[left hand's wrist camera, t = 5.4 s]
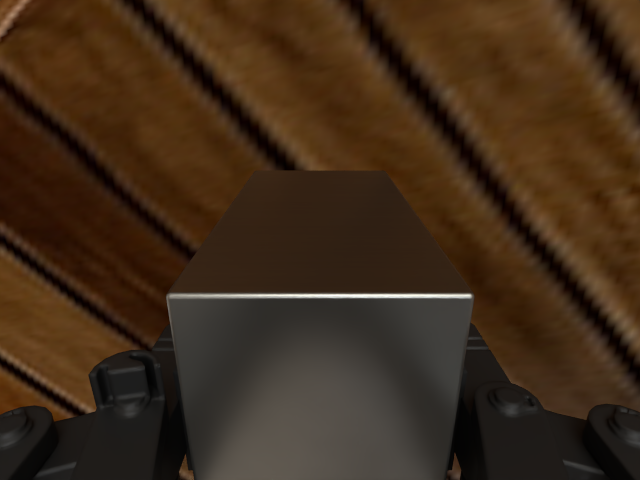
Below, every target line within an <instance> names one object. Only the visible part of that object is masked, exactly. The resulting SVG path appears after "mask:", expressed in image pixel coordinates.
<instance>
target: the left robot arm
mask: <svg viewBox="0 0 640 480" xmlns="http://www.w3.org/2000/svg"><path fill="white" fill-rule="evenodd" d="M89 379H90V383H91V387H92V391H93V395H94V399H95V403H96V407H97V409H96V411H95V412H92V413H89V414H85V415H81V416H77V417H73V418H69V419H64V420H60V421H56V422H54V420H53V416H52V413H51V412H50V411H49V410H48V409H47V408H45V407H40V406H27V407H20V408H17V409H14V410H11V411H8V412H5V413H3V414H1V415H0V480H180V476H179V470H180V467H181V465H182V462H183V459H184V456H185V453H186V458H187V464H188V470H193V467H192V461H191V454H190V448H189V441H188V435H187V428H186V422H185V415H184V409H183V402H182V396H181V390H180V383H179V377H178V370H177V364H176V357H175V351H174V344H173V338H172V331H171V325H170V324H169V325H168V326H167V327H165V329H164V331H163V332H162V334H161V335H160V337H159V339H158V341H157V342H156V343H155V345H154V347H153V348H152V351H146V350H129V351H125V352H121V353H117V354H115V355H113V356H110V357H108V358H106V359H104V360H103V361H102V362H100V363H99V364H97V365H96V366H95V367H94V368H93V370H92V371H91V372H90V374H89ZM454 453H455V454H456V456H457V459H458V462H459V465H460V467H461V476H460V480H640V413H639V412H637V411H635V410H632V409H629V408H626V407H623V406H620V405H611V404H603V405H597V406H595V407H594V408H592V409H591V410H590V411H589V414H588V417H587V420H583V419H579V418H575V417H570V416H566V415H562V414H557V413H554V412H551V411H547V410H545V409H544V408H543V407H542V405H541V403H540V402H539V400H538V399H537V398H536V397H535V396H534V395H532V394H531V393H530V392H529V391H528V390H526V389H524V388H522V387H520V386H518V385H516V384H512V383H511V382H510V381H509V379H508V378H507V376H506V374H505V373H504V371H503V370H502V368H501V367H500V365H499V363H498V362H497V360H496V359H495V357H494V355H493V354H492V352H491V351H490V350H489V349H488V346H487V344H486V343H485V341H484V340H482V336H481V335H480V333H479V332H478V330H477V329H476V327H475V326H474V325H473V324H472V323H470V328H469V335H468V341H467V348H466V354H465V361H464V367H463V374H462V380H461V386H460V393H459V399H458V406H457V412H456V419H455V425H454V431H453V438H452V444H451V451H450V457H449V464H448V470H452V466H453V460H454Z"/></svg>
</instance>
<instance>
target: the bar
mask: <svg viewBox="0 0 640 480" xmlns="http://www.w3.org/2000/svg"><path fill="white" fill-rule="evenodd" d="M166 299H167V305H168V312H169V318H170V325H171V331H172V338H173V344H174V351H175V357H176V364H177V370H178V377H179V383H180V390H181V396H182V402H183V409H184V415H185V422H186V428H187V435H188V441H189V448H190V454H191V461H192V467H193V474H194V480H446V477H447V470H448V464H449V457H450V451H451V444H452V438H453V431H454V425H455V419H456V412H457V406H458V399H459V393H460V386H461V380H462V374H463V367H464V361H465V354H466V348H467V341H468V335H469V328H470V322H471V316H472V309H473V303H474V294H473V292H472V291H471V289H470V288H469V286H468V285H467V284H466V282H465V281H464V280H463V278H462V277H461V275H460V274H459V273H458V271H457V270H456V268H455V267H454V266H453V264H452V263H451V262H450V260H449V259H448V257H447V256H446V255H445V253H444V252H443V250H442V249H441V248H440V246H439V245H438V244H437V242H436V241H435V239H434V238H433V237H432V235H431V234H430V232H429V231H428V230H427V228H426V227H425V226H424V224H423V223H422V221H421V220H420V219H419V217H418V216H417V215H416V213H415V212H414V210H413V209H412V208H411V206H410V205H409V203H408V202H407V201H406V199H405V198H404V197H403V195H402V194H401V192H400V191H399V190H398V188H397V187H396V185H395V184H394V183H393V181H392V180H391V179H390V177H389V176H388V174H387V173H386V172H385V171H255V172H254V173H253V175H252V176H251V177H250V179H249V180H248V182H247V183H246V184H245V186H244V187H243V189H242V190H241V191H240V193H239V194H238V196H237V197H236V198H235V200H234V201H233V202H232V204H231V205H230V207H229V208H228V209H227V211H226V212H225V214H224V215H223V216H222V218H221V219H220V221H219V222H218V223H217V225H216V226H215V227H214V229H213V230H212V232H211V233H210V234H209V236H208V237H207V239H206V240H205V241H204V243H203V244H202V246H201V247H200V248H199V250H198V251H197V252H196V254H195V255H194V257H193V258H192V259H191V261H190V262H189V264H188V265H187V266H186V268H185V269H184V271H183V272H182V273H181V275H180V276H179V277H178V279H177V280H176V282H175V283H174V284H173V286H172V287H171V289H170V290H169V291H168V293H167V296H166Z"/></svg>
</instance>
